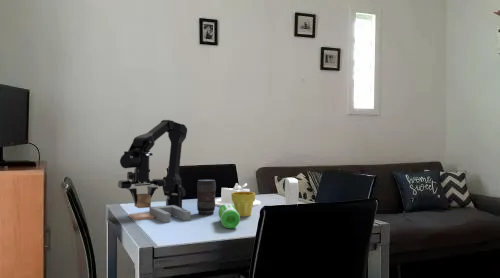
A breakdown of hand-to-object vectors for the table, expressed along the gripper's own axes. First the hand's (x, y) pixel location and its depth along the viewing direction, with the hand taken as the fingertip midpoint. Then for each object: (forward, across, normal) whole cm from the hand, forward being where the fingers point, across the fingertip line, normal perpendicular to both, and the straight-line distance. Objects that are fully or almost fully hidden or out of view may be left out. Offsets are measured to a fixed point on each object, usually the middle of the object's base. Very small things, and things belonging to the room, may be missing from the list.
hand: (141, 203), depth 191 cm
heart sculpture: (+6, -49, +38) cm, 63 cm away
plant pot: (+6, -40, +15) cm, 43 cm away
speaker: (+6, -26, +29) cm, 39 cm away
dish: (+6, -53, -14) cm, 56 cm away
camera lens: (+6, -27, +5) cm, 28 cm away
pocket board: (+6, -10, +6) cm, 13 cm away
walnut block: (+1, 0, +1) cm, 1 cm away
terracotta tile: (+6, 0, 0) cm, 6 cm away
